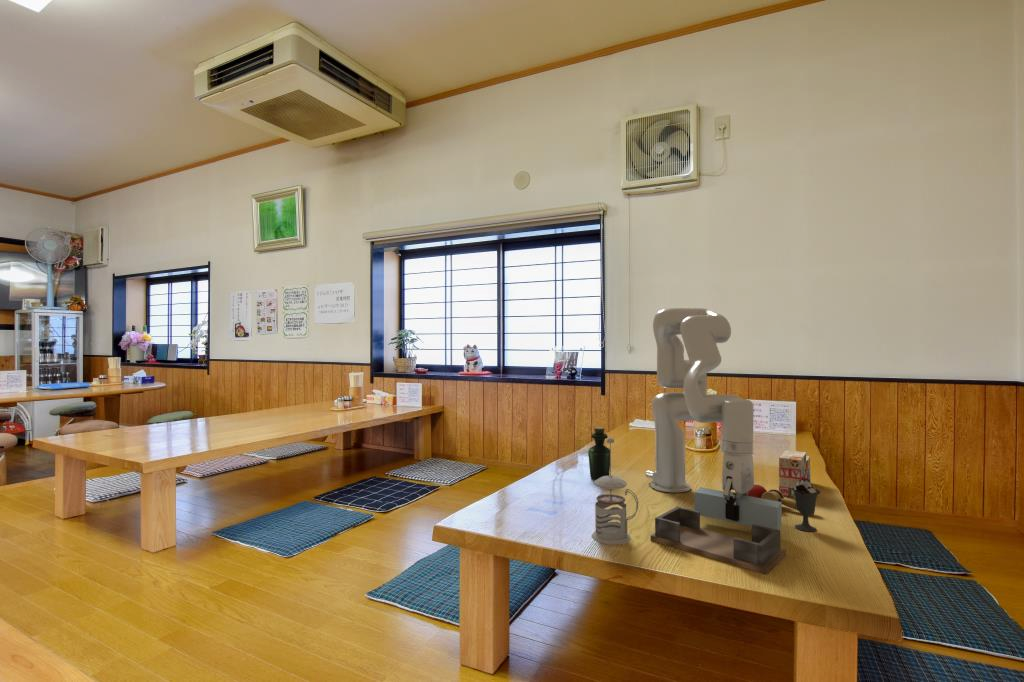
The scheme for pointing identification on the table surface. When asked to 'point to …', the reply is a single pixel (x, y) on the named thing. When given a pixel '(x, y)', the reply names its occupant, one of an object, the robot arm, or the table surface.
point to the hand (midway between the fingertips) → (736, 515)
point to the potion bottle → (599, 455)
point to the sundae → (805, 501)
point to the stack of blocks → (792, 470)
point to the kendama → (772, 496)
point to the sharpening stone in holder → (719, 541)
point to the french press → (611, 511)
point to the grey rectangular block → (749, 508)
